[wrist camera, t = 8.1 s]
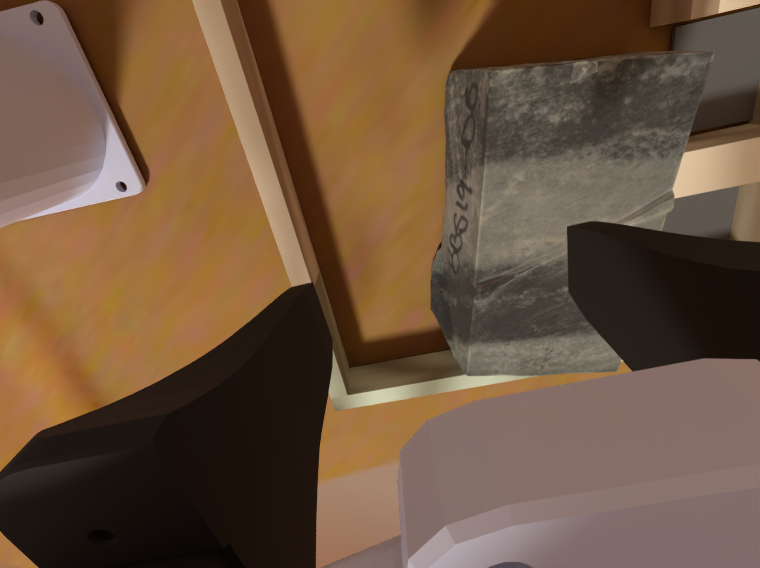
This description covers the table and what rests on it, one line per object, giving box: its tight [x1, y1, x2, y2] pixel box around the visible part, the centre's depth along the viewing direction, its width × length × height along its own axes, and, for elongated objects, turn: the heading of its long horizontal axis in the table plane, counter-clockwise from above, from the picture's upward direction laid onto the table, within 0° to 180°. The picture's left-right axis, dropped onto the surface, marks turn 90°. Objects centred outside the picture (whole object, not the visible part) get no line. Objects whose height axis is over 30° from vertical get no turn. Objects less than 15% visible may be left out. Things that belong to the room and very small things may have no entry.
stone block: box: [431, 51, 715, 376], centre depth 19 cm, size 9×14×5 cm, turn 3°
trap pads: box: [662, 7, 760, 240], centre depth 20 cm, size 4×12×1 cm, turn 12°
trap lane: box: [192, 0, 760, 411], centre depth 19 cm, size 24×23×2 cm
